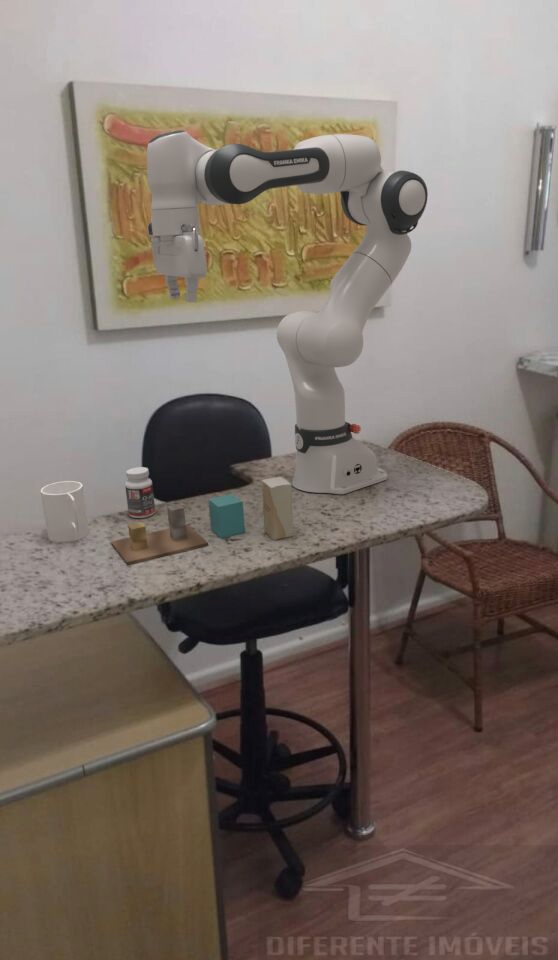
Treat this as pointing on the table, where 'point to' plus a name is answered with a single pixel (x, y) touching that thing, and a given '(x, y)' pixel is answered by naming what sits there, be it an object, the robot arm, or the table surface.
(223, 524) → the teal rectangular block
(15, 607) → the table surface
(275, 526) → the box
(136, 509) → the pill bottle
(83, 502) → the cup
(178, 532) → the stand
